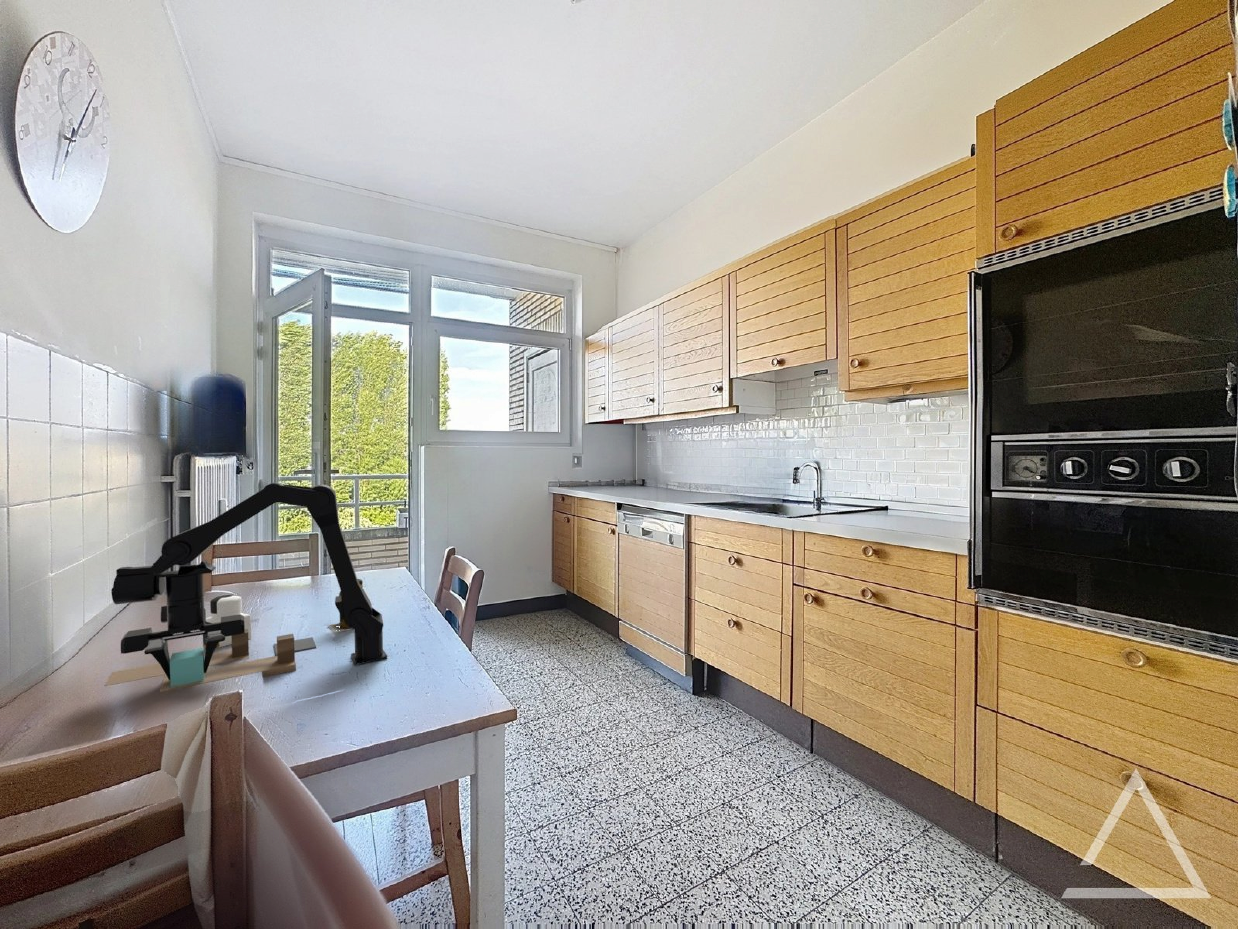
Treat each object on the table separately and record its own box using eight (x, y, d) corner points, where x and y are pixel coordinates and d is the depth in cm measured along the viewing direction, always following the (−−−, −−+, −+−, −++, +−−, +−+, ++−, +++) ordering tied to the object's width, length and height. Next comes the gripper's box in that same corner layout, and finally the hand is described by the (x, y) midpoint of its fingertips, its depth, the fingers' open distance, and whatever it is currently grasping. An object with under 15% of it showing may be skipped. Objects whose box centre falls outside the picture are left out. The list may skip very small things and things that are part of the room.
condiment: (370, 625, 144) (369, 580, 143) (335, 633, 138) (334, 586, 137) (360, 619, 149) (359, 576, 149) (327, 626, 143) (326, 581, 143)
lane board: (219, 690, 105) (218, 682, 105) (67, 722, 93) (67, 714, 93) (221, 656, 123) (221, 650, 122) (93, 680, 110) (93, 673, 110)
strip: (296, 670, 114) (295, 640, 114) (159, 698, 101) (158, 665, 101) (292, 658, 121) (292, 630, 120) (164, 683, 108) (163, 652, 108)
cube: (203, 680, 106) (202, 655, 106) (170, 687, 103) (169, 661, 103) (204, 672, 110) (204, 647, 110) (173, 678, 108) (172, 653, 107)
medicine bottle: (202, 648, 128) (200, 598, 127) (235, 639, 134) (234, 591, 134) (218, 654, 124) (217, 602, 124) (252, 644, 131) (250, 594, 130)
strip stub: (249, 663, 118) (248, 635, 117) (208, 671, 114) (207, 642, 113) (248, 652, 124) (247, 625, 124) (210, 659, 120) (209, 632, 120)
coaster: (316, 649, 127) (316, 646, 127) (275, 657, 122) (275, 654, 122) (312, 639, 133) (312, 637, 133) (273, 646, 129) (273, 644, 129)
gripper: (242, 582, 118) (245, 652, 119) (128, 596, 108) (131, 674, 108) (243, 592, 109) (245, 669, 110) (118, 609, 99) (121, 694, 99)
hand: (188, 675), depth 107 cm, fingers closed on cube, 5 cm apart
